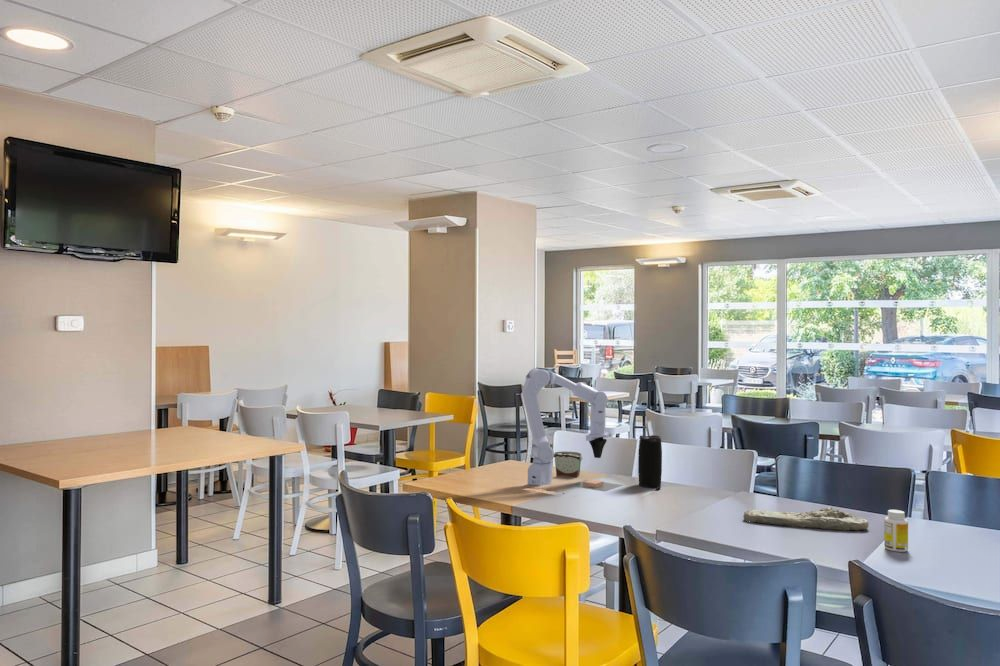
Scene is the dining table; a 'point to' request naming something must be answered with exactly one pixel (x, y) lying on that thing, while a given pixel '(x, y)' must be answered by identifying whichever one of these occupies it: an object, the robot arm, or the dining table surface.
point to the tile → (593, 483)
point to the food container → (568, 463)
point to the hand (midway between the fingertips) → (597, 457)
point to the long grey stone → (809, 519)
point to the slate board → (603, 488)
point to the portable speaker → (650, 461)
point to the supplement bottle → (896, 531)
